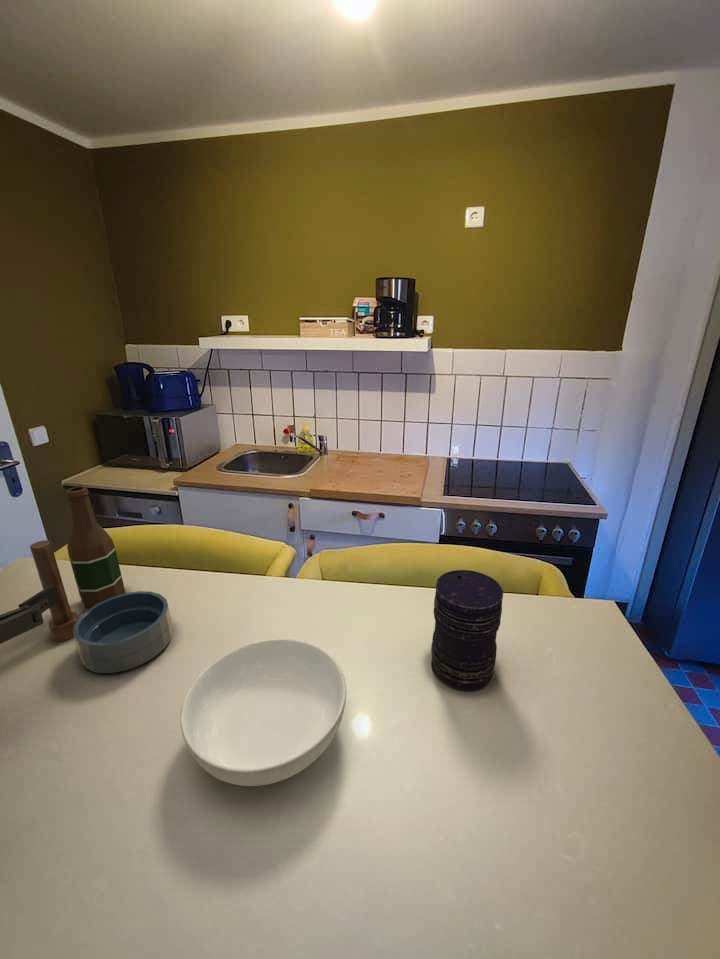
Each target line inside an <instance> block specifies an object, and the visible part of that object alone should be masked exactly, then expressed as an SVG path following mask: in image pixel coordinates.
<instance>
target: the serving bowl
mask: <svg viewBox="0 0 720 959" xmlns="http://www.w3.org/2000/svg"><path fill="white" fill-rule="evenodd" d="M346 701H347V683H346V678H345V675H344V672H343V669H342V668H341V666H340V664H339V663H338V662H337V661H336V659H335V658H334V657H333V656H332V655H331V654H330V653H329V652H328V651H326V650H324V649H323V648H321V647H319V646H318V645H316V644H314V643H310V642H308V641H303V640H299V639H293V638H270V639H262V640H258V641H253V642H249V643H247V644H244V645H241V646H238V647H236V648H234V649H232V650H230V651H228V652H226V653H223V655H221V656H219V657H218V658H217V659H215V660H214V661H212V662H211V663H210V664H209V665H208V666H206V667H205V668H204V669H203V670H202V671H201V672H200V673H199V674H198V676H197V677H196V678H195V679H194V681H193V682H192V684H191V685H190V687H189V689H188V691H187V692H186V694H185V697H184V699H183V703H182V706H181V711H180V728H181V729H180V730H181V735H182V738H183V740H184V742H185V744H186V747H187V749H188V751H189V753H190V754H191V756H192V757H193V759H194V760H195V762H196V763H197V764H198V765H199V766H200V767H201V768H202V769H203V770H204V771H205V772H207V773H208V774H209V775H211V776H212V777H214V778H215V779H217V780H220V781H222V782H225V783H228V784H231V785H235V786H242V787H258V786H259V787H261V786H267V785H272V784H274V783H279V782H282V781H284V780H286V779H289V778H291V777H294V776H295V775H296V774H298V773H300V772H302V771H303V770H305V769H306V768H307V767H309V766H311V764H312V763H314V762H315V761H316V760H317V759H318V758H319V757H321V755H322V754H323V753H324V752H325V750H327V748H328V746H330V744H331V742H332V741H333V739H334V737H335V736H336V734H337V733H338V730H339V727H340V725H341V722H342V719H343V715H344V712H345V706H346Z"/></svg>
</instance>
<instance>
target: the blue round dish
mask: <svg viewBox="0 0 720 959" xmlns="http://www.w3.org/2000/svg"><path fill="white" fill-rule="evenodd" d="M171 617H172V616H171V612H170V608H169V604H168V600H167V598H165V597H164V596H163V595H162V594H160V593H157V592H153V591H149V590H148V591H143V590H138V591H131V592H125V594H121V595H118V596H114V597H111V598H109V599H107V600H104V601H102V602H100V603H98V604H96V605H95V606H93V607H92V608H90V609H88V610H87V609H86V611H85V612H84V613H83V614H81V615H80V616H78V618H79V619H78V620H77V622H76V624H75V625H74V627H73V636H74V637H73V639H74V642H75V646H76V649H77V652H78V657H79V659H80V662H81V664H82V665H83V666H84V668H85V669H86V670H89V671H92V672H93V673H98V674H100V673H101V674H114V673H120V672H125V671H127V670H130V669H133V668H136V667H138V666H141V665H143V664H145V663H146V662H148V661H150V660H151V659H153V658H155V657H156V656H157V655H158V654H159V653H161V652H162V651H163V650H164V649H165V648H166V647H167V645H168V644H169V643H170V641H171V640H172V636H173V632H174V627H173V623H172V618H171Z"/></svg>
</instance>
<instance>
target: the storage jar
mask: <svg viewBox="0 0 720 959" xmlns="http://www.w3.org/2000/svg"><path fill="white" fill-rule="evenodd" d="M503 599H504V590H503V587H502V585H501V584H500V583H499V582H498V581H497V580H496V579H494V578H493V577H491V576H489V575H488V574H486V573H482V572H480V571H476V570H469V569H455V570H451V571H447V572H445V573H443V574H441V575H440V576H439V577H438V578H437V579H436V582H435V594H434V600H433V617H434V631H433V633H432V641H431V646H430V647H431V648H430V651H431V652H430V653H431V654H430V655H431V659H430V660H431V661H430V667H431V671H432V673H433V675H434V676H435V678H436V679H437V680H438V681H439V682H440V683H442V684H443V685H444V686H446V687H448V688H449V689H452V690H454V691H456V692H457V691H458V692H463V693H473V692H478V691H481V690H484V689H485V688H487V687H488V686H489V685H490V684H491V682H492V681H493V677H494V670H495V666H496V660H497V647H498V645H497V636H498V635H497V634H498V631H499V629H500V625H501V618H502V614H503Z"/></svg>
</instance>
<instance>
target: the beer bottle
mask: <svg viewBox="0 0 720 959" xmlns="http://www.w3.org/2000/svg"><path fill="white" fill-rule="evenodd" d="M89 494H90V491H89V490H88V488H87V487H86V486H85V485H83V486H82V485H80V486H72V487H70V488H68V489H66V490H65V494H64V496H65V497H66V498H67V501H68V506H69V511H70V517H71V521H72V531H71V533H70V536H69V538H68V540H67V545H66V549H67V553H68V554H67V555H68V558H69V562H70V566H71V569H72V572H73V576H74V580H75V583H76V587H77V591H78V595H79V597H80V600H81V603H82V605H83V606H84V608H85V609H86V611H87V610H88V609H90V608H92V607H93V606H95V605H96V604H98V603H100V602H102V601H104V600H107V599H109V598H111V597H114V596H118V595H121V594H125V593H126V589H125V585H124V584H125V583H124V580H123V576H122V575H123V574H122V571H121V568H120V563H119V559H118V554H117V551H116V546H115V543H114V540H113V538H112V537H111V535H109V533H108V532H107V531H106V529H104V528H103V527H102V526H101V525H99V523H98V521H97V518H96V515H95V511H94V509H93V506H92V503H91V499H90V497H89Z"/></svg>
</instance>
